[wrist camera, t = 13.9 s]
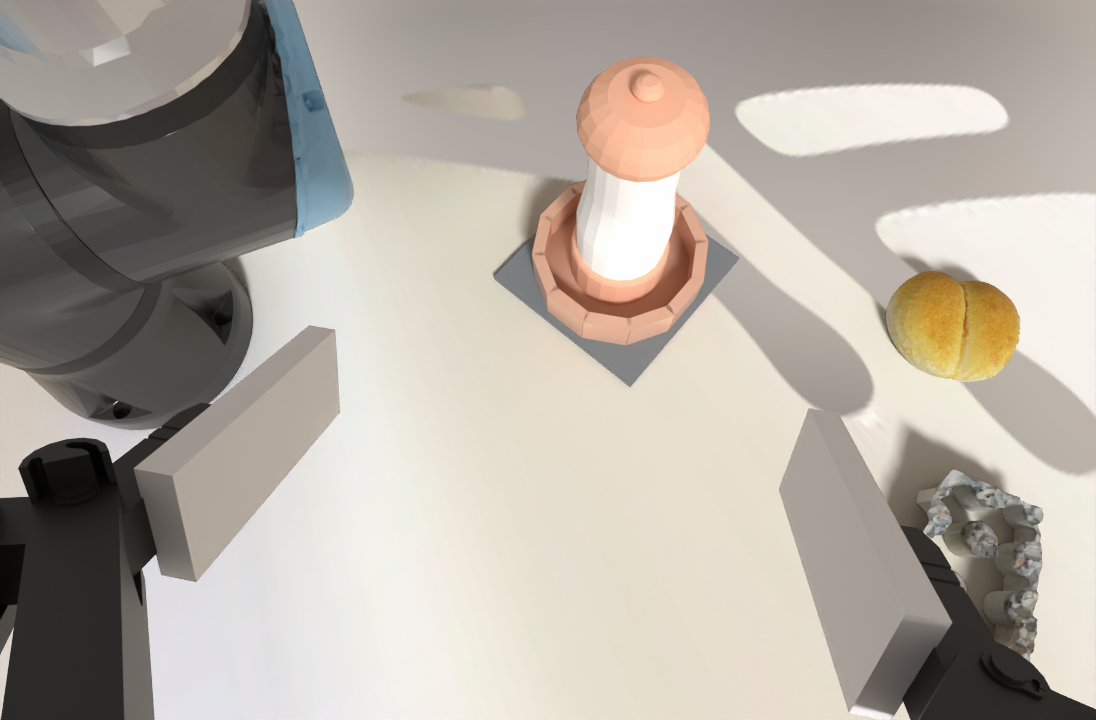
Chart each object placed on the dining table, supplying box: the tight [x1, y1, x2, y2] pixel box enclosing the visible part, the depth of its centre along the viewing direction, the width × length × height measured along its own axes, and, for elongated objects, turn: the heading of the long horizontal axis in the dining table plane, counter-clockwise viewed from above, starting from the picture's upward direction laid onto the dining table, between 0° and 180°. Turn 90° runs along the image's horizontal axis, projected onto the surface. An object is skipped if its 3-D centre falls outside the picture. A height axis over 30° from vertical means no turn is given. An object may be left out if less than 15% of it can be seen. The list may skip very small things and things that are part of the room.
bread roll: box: [886, 272, 1020, 382], centre depth 45 cm, size 8×9×4 cm
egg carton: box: [916, 469, 1043, 662], centre depth 40 cm, size 11×8×4 cm
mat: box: [494, 234, 739, 387], centre depth 48 cm, size 14×14×1 cm
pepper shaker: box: [571, 57, 710, 306], centre depth 38 cm, size 7×7×19 cm
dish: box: [532, 180, 709, 345], centre depth 47 cm, size 13×13×3 cm
